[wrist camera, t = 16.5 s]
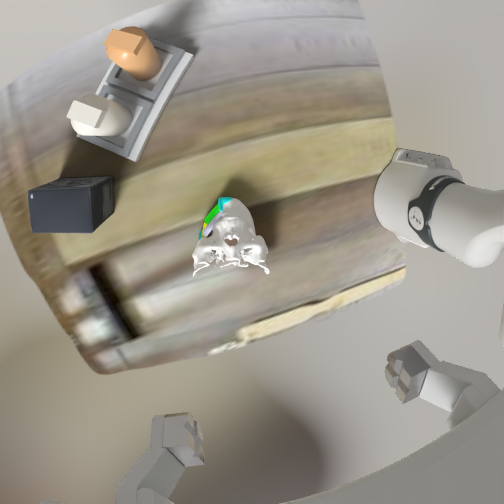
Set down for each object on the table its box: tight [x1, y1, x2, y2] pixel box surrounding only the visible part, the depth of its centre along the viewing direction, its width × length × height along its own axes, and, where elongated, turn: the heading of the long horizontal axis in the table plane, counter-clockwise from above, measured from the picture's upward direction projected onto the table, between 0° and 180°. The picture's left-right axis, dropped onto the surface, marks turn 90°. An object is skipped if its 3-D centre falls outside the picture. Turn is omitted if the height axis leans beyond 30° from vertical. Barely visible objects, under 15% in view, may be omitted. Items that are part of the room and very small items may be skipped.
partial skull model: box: [192, 197, 269, 276], centre depth 43 cm, size 12×9×10 cm
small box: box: [28, 176, 114, 233], centre depth 35 cm, size 11×6×10 cm, turn 85°
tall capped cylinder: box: [104, 26, 162, 81], centre depth 27 cm, size 5×5×12 cm
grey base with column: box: [67, 37, 194, 162], centre depth 29 cm, size 18×11×14 cm, turn 151°
